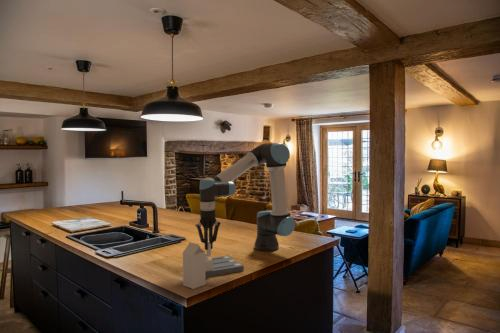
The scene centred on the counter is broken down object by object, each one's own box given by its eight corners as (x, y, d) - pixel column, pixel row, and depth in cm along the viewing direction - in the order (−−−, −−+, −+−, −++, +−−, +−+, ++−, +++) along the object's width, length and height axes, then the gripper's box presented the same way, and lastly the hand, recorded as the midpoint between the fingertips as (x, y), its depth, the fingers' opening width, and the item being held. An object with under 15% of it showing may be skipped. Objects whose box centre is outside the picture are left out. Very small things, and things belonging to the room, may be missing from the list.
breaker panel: (227, 259, 195) (227, 246, 195) (243, 270, 177) (243, 255, 177) (185, 266, 184) (185, 252, 184) (197, 278, 166) (197, 263, 166)
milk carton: (193, 289, 153) (192, 246, 152) (183, 285, 158) (182, 243, 157) (205, 284, 159) (205, 243, 158) (195, 281, 163) (194, 240, 163)
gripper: (197, 211, 172) (198, 259, 173) (222, 209, 178) (223, 255, 179) (192, 209, 178) (194, 255, 180) (216, 207, 184) (217, 252, 186)
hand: (208, 255), depth 179 cm, fingers closed
